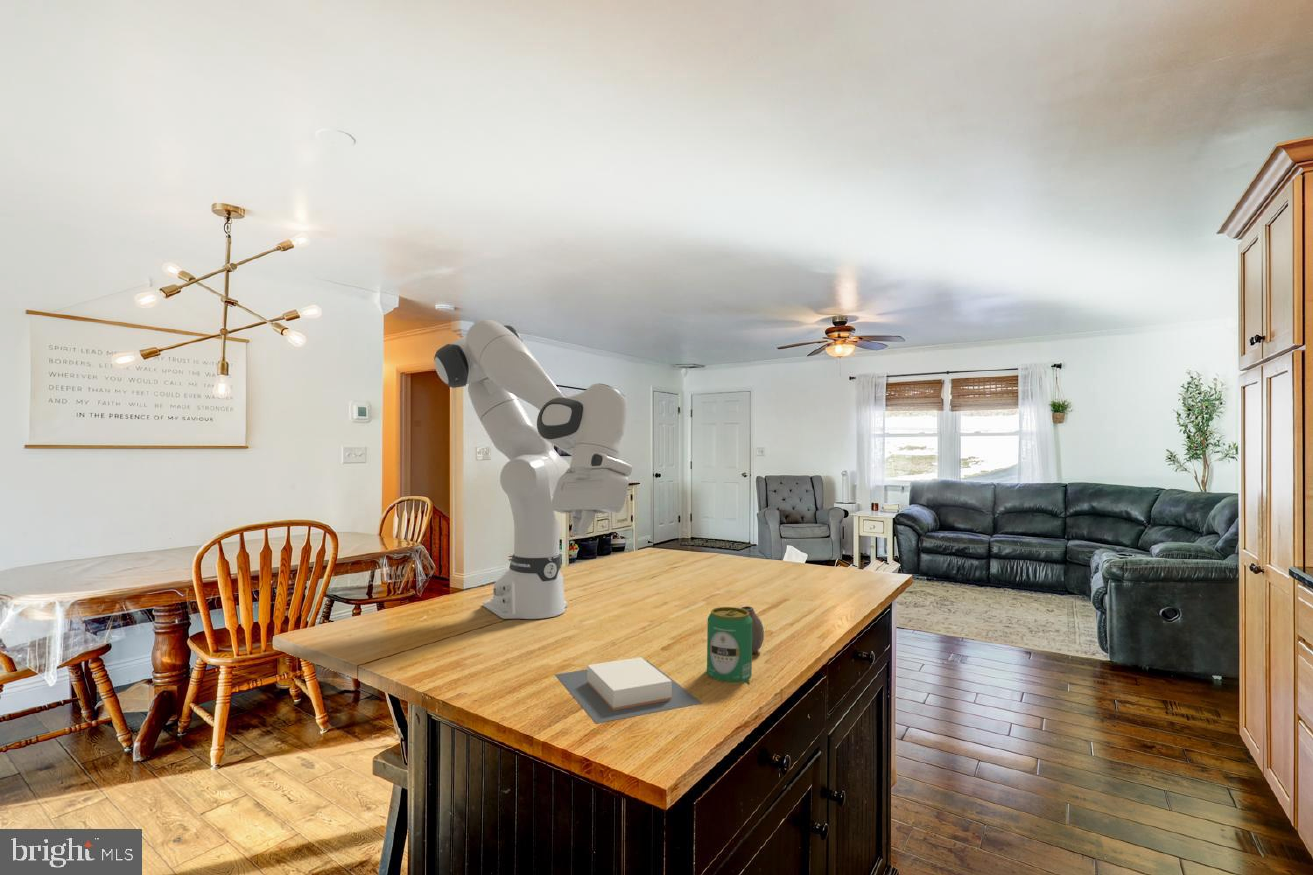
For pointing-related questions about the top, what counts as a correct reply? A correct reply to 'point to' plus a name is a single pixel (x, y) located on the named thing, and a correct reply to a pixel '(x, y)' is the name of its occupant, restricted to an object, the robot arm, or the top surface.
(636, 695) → the tile
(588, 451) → the robot arm
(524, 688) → the top surface
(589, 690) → the mat
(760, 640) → the vase
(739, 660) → the beverage can
